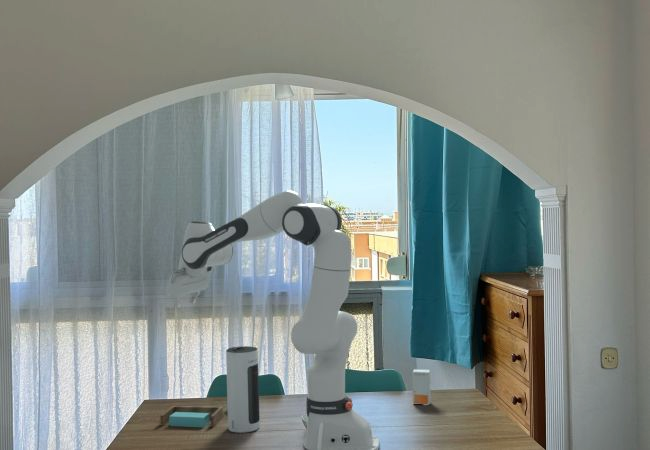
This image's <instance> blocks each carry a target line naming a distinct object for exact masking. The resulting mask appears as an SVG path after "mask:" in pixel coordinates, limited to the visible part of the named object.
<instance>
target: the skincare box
mask: <svg viewBox="0 0 650 450" xmlns="http://www.w3.org/2000/svg"><path fill="white" fill-rule="evenodd" d="M431 391H432V390H431V370H430V369H416V368H414V369H413V371H412V404H413V403H415V404H416V403H417V404H430V405H431V403H430V402H432V400H431V399H432V397H431V394H432V393H431Z"/></svg>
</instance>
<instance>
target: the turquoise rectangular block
mask: <svg viewBox="0 0 650 450" xmlns="http://www.w3.org/2000/svg"><path fill="white" fill-rule="evenodd" d="M168 423H169V427H185V428H186V427H188V428H205V427H206V426H207V425H208V424H211V418H209V413H192V412H175V413H173V414H172V415H170V416H169V422H168Z"/></svg>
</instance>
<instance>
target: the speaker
mask: <svg viewBox="0 0 650 450" xmlns="http://www.w3.org/2000/svg"><path fill="white" fill-rule="evenodd" d="M225 357H226V362H225V363H226V397H227V398H226V400H227V401H226V402H227V403H226V404H227V407H226V408H227V429H228V431H229V432H231V433H237V434H245V433H251V432H255V431H258V430H259V429H260V426H261V424H260V423H261V422H260V421H261V420H260V388H259V384H260V383H259V380H260V379H259V349H258V347H255V346H247V345H242V346H232V347H229V348H226V350H225Z"/></svg>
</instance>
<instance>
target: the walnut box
mask: <svg viewBox="0 0 650 450" xmlns="http://www.w3.org/2000/svg"><path fill="white" fill-rule="evenodd" d="M175 412H192V413H209V419H210V427H211V428H214V427H216V426H217V425H218V423H219V422H220V421H221V420H222V419H223V418H224V406H208V405H207V406H206V405H205V406H198V405H197V406H196V405H195V406H194V405H190V406H187V405H172V406H170V407H169V408H168V409H167V410H166V411H164V412H163V413H162V414H160V426H161V427H164V426H165V425H167V424H168V423H169V416H170V415H172V414H173V413H175Z"/></svg>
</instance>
